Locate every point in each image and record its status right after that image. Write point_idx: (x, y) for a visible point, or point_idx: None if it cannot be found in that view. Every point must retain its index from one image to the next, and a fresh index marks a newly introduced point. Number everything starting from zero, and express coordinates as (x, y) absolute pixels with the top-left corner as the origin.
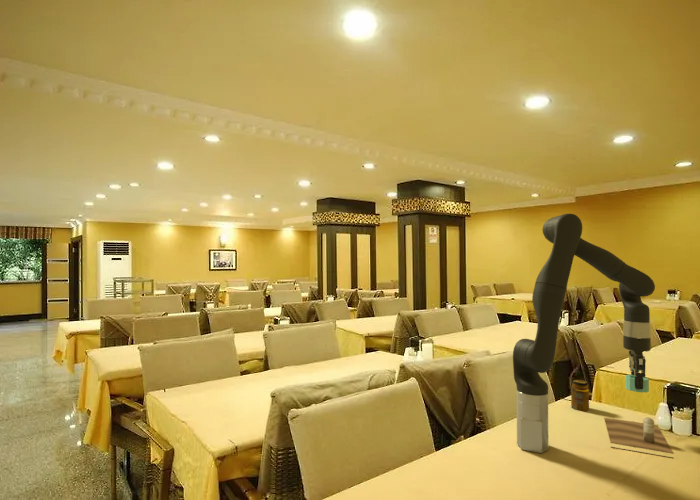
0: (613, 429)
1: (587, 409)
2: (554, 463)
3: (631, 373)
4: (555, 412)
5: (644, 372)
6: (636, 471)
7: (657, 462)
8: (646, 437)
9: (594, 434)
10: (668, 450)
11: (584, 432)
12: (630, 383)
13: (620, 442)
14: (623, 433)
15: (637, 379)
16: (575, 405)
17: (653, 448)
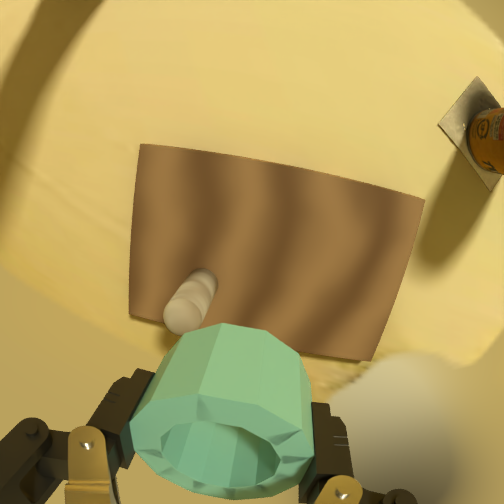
0: (290, 191)
1: (484, 160)
2: (31, 11)
3: (314, 463)
4: (460, 44)
5: (23, 477)
6: (31, 182)
7: (93, 253)
8: (186, 278)
9: (261, 113)
10: (145, 310)
11: (271, 80)
12: (164, 370)
13: (155, 179)
14: (253, 217)
15: (89, 420)
16: (490, 114)
17: (143, 273)
